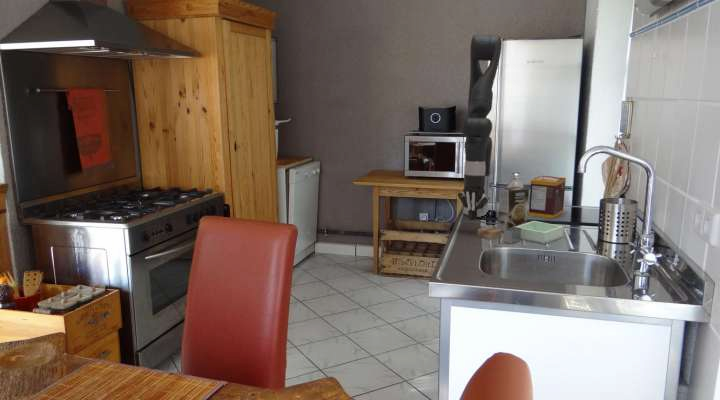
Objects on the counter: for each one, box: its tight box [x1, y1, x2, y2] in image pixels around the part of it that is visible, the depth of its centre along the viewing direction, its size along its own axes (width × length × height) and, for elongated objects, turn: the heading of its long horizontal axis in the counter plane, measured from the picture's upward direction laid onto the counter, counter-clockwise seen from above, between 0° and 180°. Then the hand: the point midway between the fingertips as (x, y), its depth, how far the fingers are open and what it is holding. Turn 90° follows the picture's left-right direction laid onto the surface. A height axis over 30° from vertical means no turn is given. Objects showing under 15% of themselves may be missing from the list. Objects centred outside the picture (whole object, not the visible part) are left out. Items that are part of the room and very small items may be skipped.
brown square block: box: [477, 226, 503, 241], centre depth 191 cm, size 6×6×3 cm
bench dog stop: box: [502, 227, 521, 245], centre depth 185 cm, size 3×6×4 cm, turn 134°
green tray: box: [516, 220, 564, 245], centre depth 191 cm, size 12×14×4 cm
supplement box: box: [528, 175, 567, 220], centre depth 227 cm, size 10×15×16 cm
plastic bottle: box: [506, 172, 525, 188], centre depth 211 cm, size 6×7×20 cm
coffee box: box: [496, 187, 530, 233], centre depth 199 cm, size 9×6×16 cm
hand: (472, 219), depth 196 cm, fingers closed
